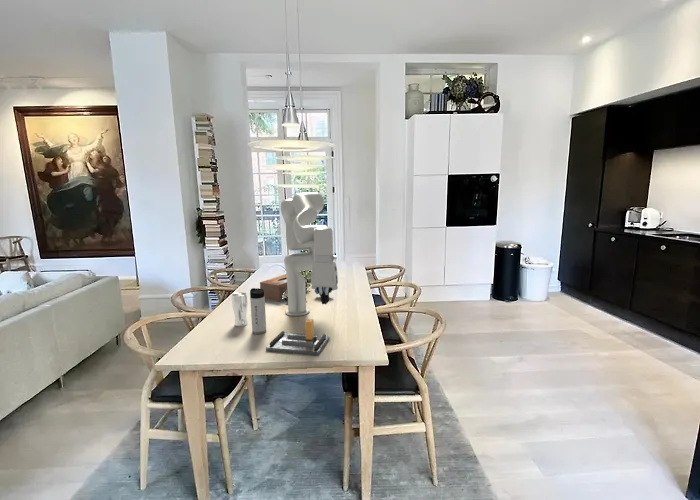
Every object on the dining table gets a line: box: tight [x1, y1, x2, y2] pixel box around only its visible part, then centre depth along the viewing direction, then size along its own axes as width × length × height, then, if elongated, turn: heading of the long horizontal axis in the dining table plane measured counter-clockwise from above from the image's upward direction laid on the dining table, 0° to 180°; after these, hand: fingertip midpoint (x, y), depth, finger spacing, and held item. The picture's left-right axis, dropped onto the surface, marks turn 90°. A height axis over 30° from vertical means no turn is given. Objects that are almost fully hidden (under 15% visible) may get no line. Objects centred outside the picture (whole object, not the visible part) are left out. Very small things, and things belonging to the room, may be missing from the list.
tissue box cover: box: [259, 273, 287, 302], centre depth 225 cm, size 26×14×10 cm, turn 149°
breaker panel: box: [265, 331, 330, 356], centre depth 152 cm, size 16×22×3 cm
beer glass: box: [231, 291, 248, 327], centre depth 175 cm, size 7×7×15 cm
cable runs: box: [269, 330, 327, 350], centre depth 152 cm, size 13×20×1 cm, turn 77°
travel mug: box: [249, 287, 267, 335], centre depth 165 cm, size 6×7×20 cm
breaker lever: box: [304, 318, 315, 342], centre depth 150 cm, size 4×3×9 cm
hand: (325, 303), depth 147 cm, fingers closed
